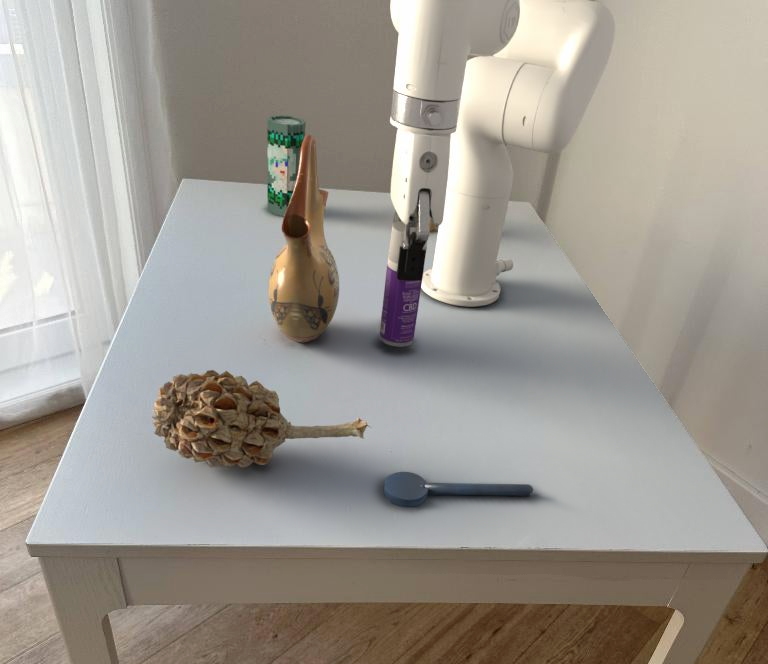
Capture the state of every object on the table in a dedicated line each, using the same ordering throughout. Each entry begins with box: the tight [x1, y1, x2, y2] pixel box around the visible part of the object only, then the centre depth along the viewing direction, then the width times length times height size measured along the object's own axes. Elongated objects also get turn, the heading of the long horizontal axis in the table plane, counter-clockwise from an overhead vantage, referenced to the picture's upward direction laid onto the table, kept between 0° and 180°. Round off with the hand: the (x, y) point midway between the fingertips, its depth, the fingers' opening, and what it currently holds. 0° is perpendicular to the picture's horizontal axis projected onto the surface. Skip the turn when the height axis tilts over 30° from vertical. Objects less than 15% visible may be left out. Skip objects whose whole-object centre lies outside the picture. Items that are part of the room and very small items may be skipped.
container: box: [379, 221, 425, 347], centre depth 95 cm, size 5×5×15 cm
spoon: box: [383, 471, 534, 508], centre depth 77 cm, size 16×5×1 cm, turn 96°
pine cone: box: [151, 369, 371, 468], centre depth 75 cm, size 22×10×10 cm, turn 98°
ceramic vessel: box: [268, 134, 340, 343], centre depth 91 cm, size 16×9×25 cm, turn 175°
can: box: [266, 114, 306, 217], centre depth 129 cm, size 6×6×15 cm
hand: (405, 268), depth 93 cm, fingers closed on container, 4 cm apart
